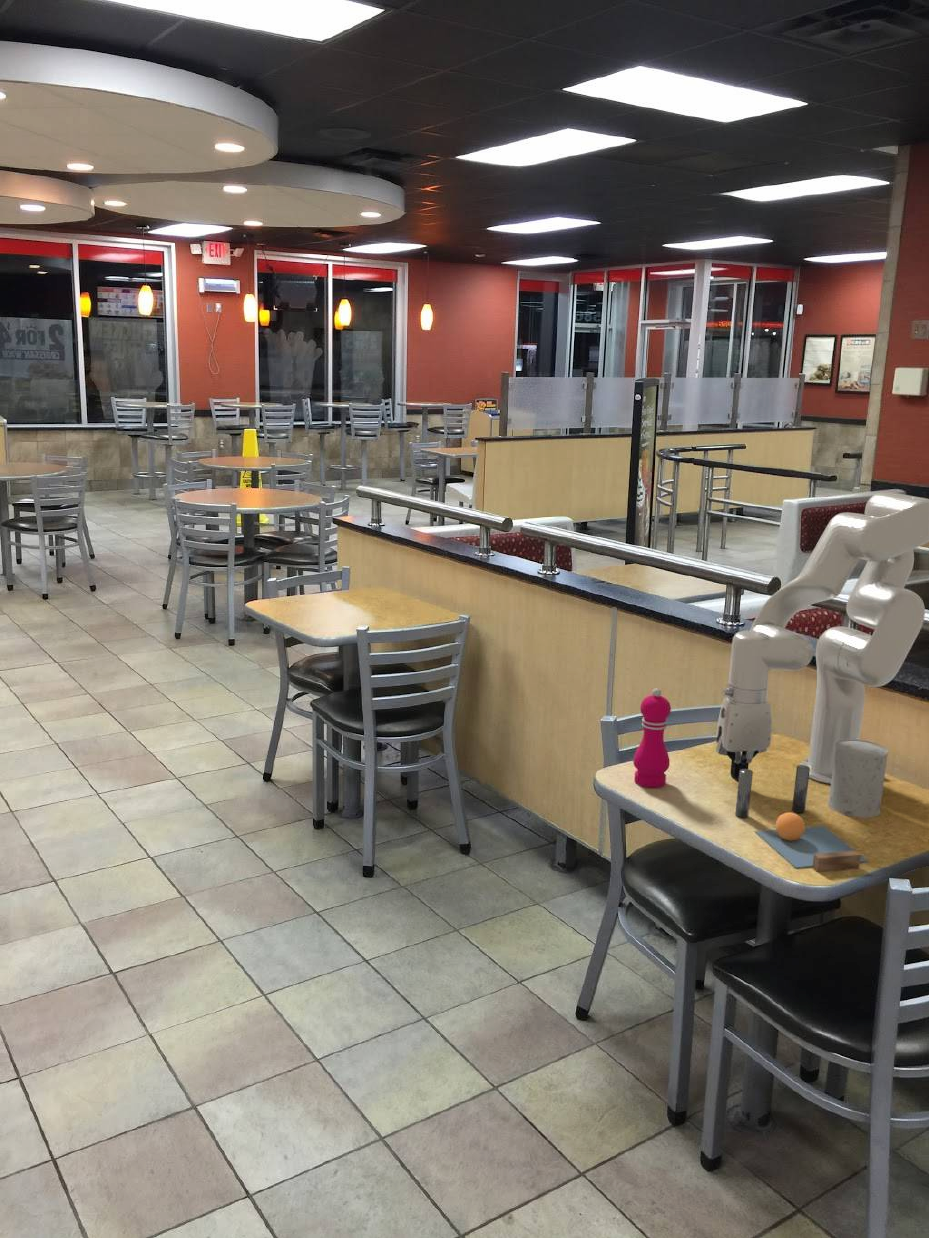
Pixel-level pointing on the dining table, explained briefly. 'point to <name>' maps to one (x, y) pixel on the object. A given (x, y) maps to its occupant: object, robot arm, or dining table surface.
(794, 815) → the ball
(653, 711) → the pepper mill
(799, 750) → the dining table surface
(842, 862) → the wall
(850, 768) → the speckled stone cylinder
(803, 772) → the post
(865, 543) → the robot arm
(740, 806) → the post
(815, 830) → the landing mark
